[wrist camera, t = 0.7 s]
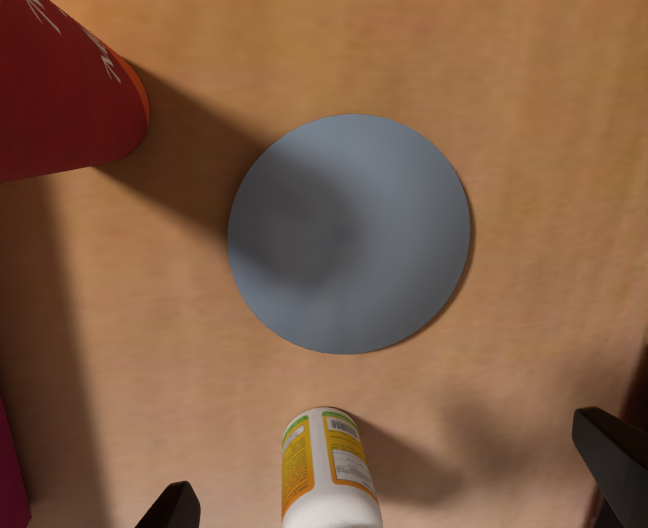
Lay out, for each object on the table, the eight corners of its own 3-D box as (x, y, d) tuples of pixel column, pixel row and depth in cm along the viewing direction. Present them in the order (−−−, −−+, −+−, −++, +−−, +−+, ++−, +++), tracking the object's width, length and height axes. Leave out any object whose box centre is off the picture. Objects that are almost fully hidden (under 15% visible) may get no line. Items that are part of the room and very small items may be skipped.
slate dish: (328, 384, 25) (330, 394, 24) (177, 224, 21) (171, 227, 20) (502, 257, 23) (511, 261, 22) (376, 58, 19) (381, 53, 18)
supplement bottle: (289, 474, 26) (292, 646, 17) (275, 413, 25) (269, 566, 16) (363, 459, 27) (404, 620, 18) (353, 397, 25) (393, 539, 16)
